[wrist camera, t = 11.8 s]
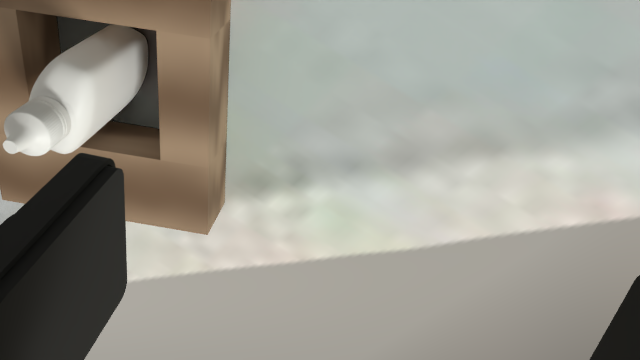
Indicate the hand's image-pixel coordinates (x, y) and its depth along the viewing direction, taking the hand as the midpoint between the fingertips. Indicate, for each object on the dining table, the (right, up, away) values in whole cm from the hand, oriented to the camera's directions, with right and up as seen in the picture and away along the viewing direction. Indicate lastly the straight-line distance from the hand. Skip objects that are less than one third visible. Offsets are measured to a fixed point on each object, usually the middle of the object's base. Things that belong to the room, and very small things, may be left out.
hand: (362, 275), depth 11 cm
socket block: (-13, +9, +27) cm, 31 cm away
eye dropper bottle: (-13, +9, +27) cm, 31 cm away
